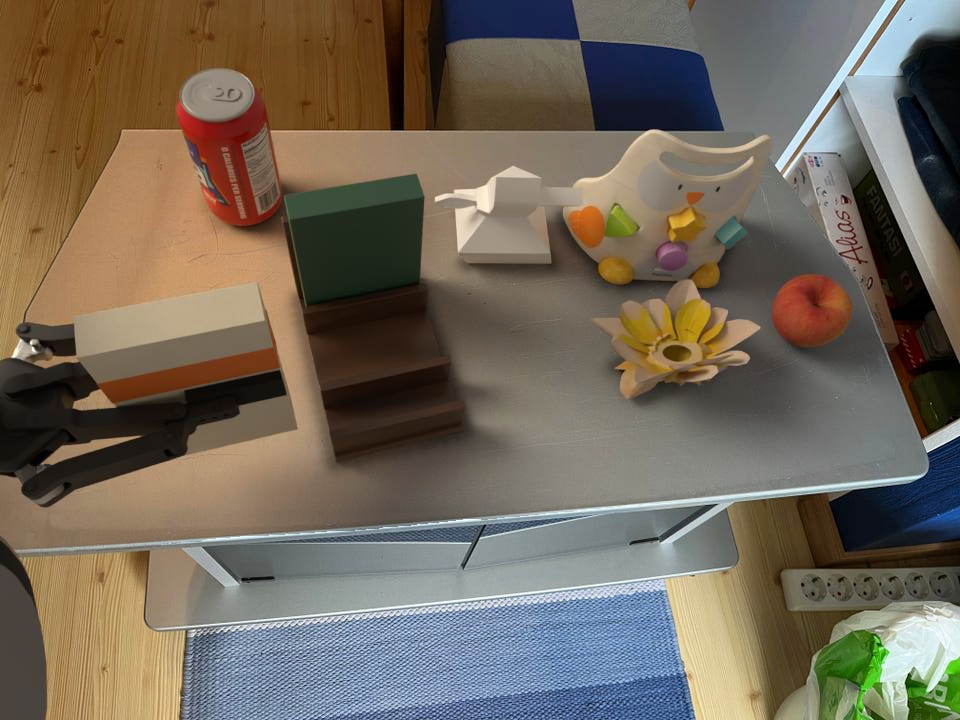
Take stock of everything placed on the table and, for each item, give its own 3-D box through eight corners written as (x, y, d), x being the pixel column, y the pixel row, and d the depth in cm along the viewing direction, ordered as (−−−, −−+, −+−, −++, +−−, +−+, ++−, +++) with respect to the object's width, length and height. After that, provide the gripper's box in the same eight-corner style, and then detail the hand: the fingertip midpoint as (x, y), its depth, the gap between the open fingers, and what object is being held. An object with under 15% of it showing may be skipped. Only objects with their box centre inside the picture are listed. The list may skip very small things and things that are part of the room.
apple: (838, 335, 80) (882, 295, 73) (799, 373, 77) (840, 335, 70) (785, 289, 82) (822, 246, 75) (744, 325, 79) (779, 284, 72)
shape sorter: (569, 287, 79) (612, 172, 63) (561, 208, 84) (599, 84, 68) (746, 292, 81) (831, 182, 65) (728, 215, 86) (803, 96, 70)
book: (298, 429, 62) (266, 321, 46) (159, 462, 60) (75, 359, 44) (291, 397, 63) (258, 280, 48) (155, 427, 61) (72, 315, 45)
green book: (419, 301, 75) (424, 196, 61) (309, 323, 72) (289, 220, 58) (412, 280, 76) (416, 172, 62) (304, 301, 73) (283, 194, 59)
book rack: (462, 431, 70) (476, 368, 58) (336, 462, 67) (323, 402, 56) (413, 276, 78) (417, 192, 66) (298, 298, 75) (280, 215, 63)
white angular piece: (430, 209, 82) (436, 115, 70) (554, 210, 83) (582, 119, 71) (433, 273, 78) (440, 185, 66) (563, 273, 80) (594, 188, 68)
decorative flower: (712, 277, 79) (755, 241, 69) (748, 378, 77) (797, 355, 67) (580, 309, 77) (606, 276, 67) (613, 414, 75) (644, 395, 65)
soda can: (278, 233, 78) (255, 128, 65) (202, 228, 78) (163, 121, 64) (287, 176, 82) (267, 65, 69) (214, 171, 81) (179, 58, 68)
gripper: (-51, 357, 56) (267, 296, 61) (-53, 568, 49) (305, 479, 54) (-111, 305, 49) (252, 241, 54) (-122, 540, 42) (293, 441, 48)
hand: (278, 360), depth 54 cm, fingers closed on book, 3 cm apart
